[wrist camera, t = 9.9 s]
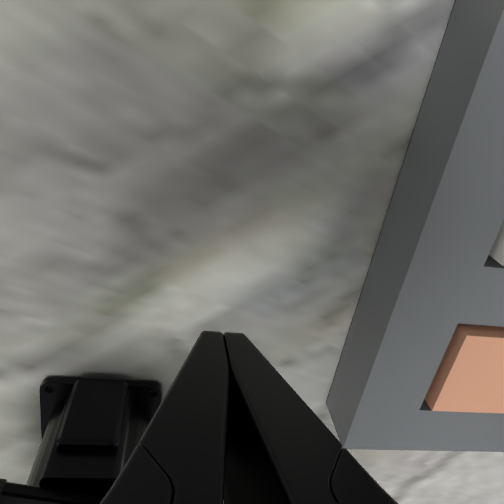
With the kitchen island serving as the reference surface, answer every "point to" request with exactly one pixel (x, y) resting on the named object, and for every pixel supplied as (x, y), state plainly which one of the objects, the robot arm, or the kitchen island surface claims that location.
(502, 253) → the offwhite key
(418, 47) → the kitchen island surface
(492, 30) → the key panel
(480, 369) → the terracotta key
